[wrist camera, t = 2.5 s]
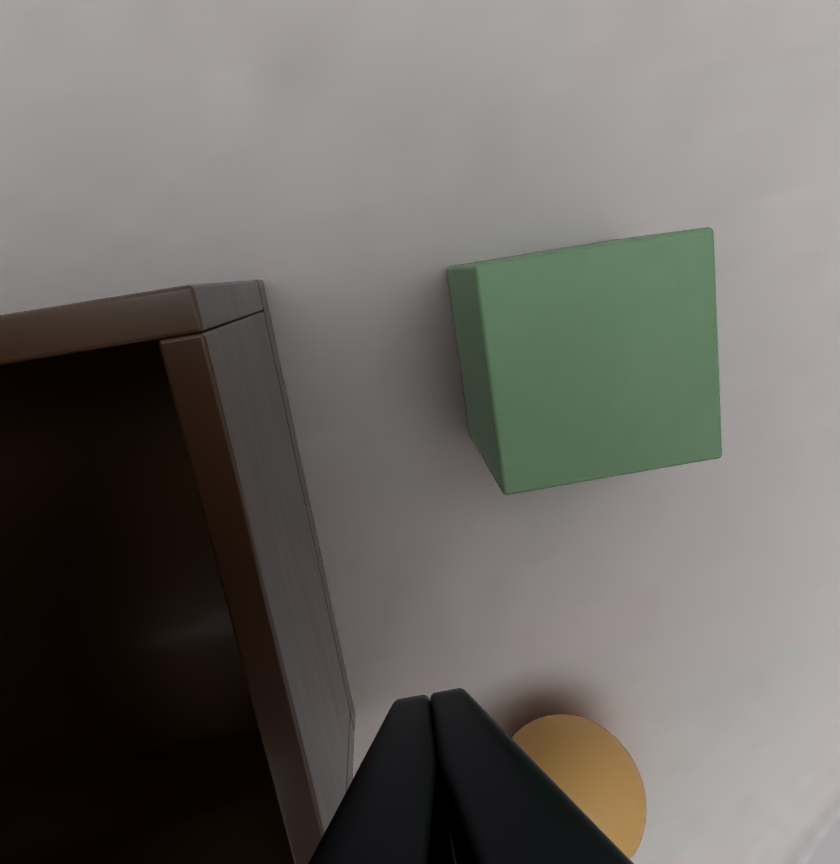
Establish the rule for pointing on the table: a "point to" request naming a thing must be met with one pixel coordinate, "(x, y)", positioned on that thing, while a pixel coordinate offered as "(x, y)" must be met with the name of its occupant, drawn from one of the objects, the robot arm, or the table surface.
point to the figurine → (590, 773)
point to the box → (161, 591)
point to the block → (590, 358)
